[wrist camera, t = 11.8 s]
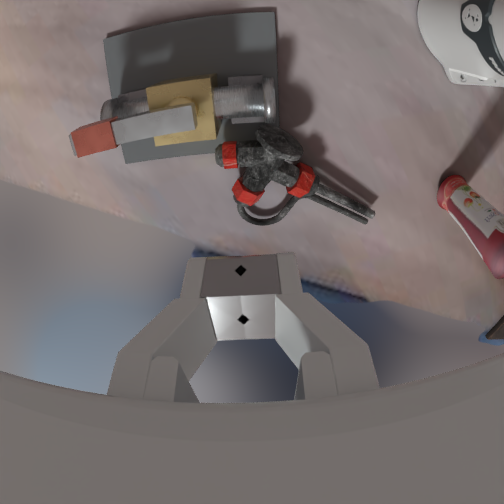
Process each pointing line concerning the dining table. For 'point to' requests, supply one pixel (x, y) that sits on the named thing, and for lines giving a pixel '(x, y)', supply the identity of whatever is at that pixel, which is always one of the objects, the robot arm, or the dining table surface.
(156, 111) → the lever
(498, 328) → the dark grey flat slab
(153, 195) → the dining table surface
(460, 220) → the liquor
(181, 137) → the pipe valve
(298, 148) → the valve
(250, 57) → the mat
